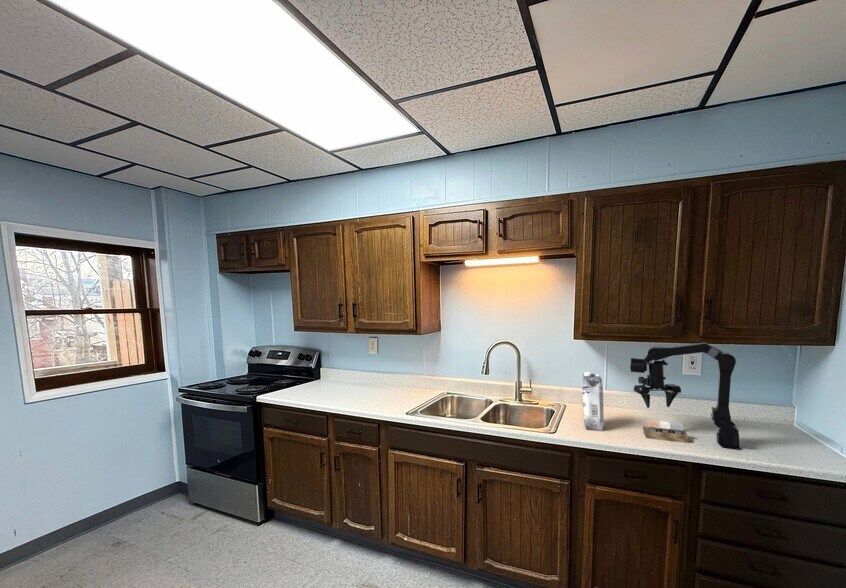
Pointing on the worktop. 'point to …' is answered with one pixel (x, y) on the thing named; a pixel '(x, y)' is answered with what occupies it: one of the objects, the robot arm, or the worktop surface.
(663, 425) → the key ivory
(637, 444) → the worktop surface
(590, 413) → the juice carton
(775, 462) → the worktop surface
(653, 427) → the key terracotta
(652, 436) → the key panel
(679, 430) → the key slate
